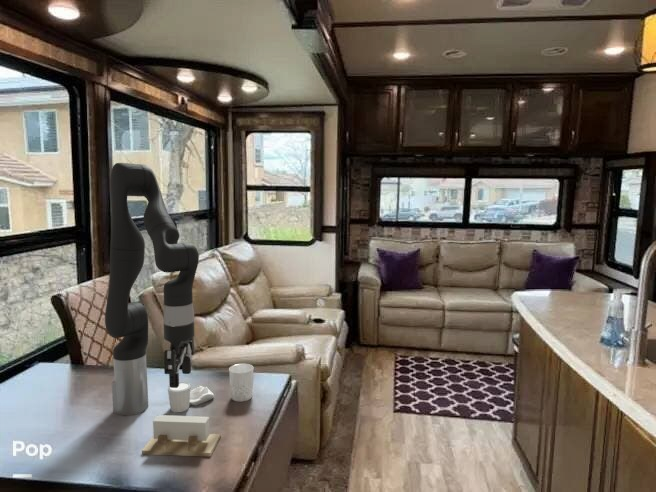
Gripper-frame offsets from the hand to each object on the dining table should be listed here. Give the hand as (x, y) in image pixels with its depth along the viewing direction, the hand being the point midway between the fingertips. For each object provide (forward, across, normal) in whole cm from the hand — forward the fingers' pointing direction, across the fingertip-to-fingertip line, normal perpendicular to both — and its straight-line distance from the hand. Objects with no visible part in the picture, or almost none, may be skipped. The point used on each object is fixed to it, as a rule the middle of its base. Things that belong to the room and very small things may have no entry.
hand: (180, 380), depth 119 cm
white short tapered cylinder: (+18, -20, -8) cm, 29 cm away
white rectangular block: (+16, 0, 0) cm, 16 cm away
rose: (+19, -26, -4) cm, 33 cm away
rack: (+18, 0, 0) cm, 18 cm away
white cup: (+18, -28, +9) cm, 35 cm away
